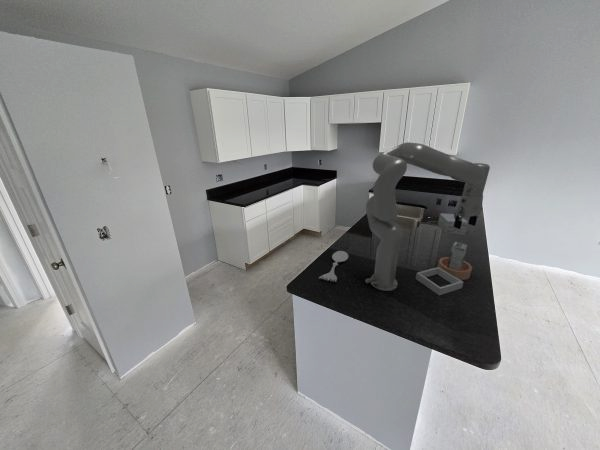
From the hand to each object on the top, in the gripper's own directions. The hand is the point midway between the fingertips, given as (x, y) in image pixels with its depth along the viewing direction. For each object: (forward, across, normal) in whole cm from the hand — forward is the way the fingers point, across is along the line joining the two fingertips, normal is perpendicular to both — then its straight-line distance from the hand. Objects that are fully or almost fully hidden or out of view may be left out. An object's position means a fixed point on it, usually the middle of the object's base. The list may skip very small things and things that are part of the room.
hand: (464, 226), depth 121 cm
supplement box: (+26, +47, +40) cm, 67 cm away
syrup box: (+25, 0, 0) cm, 25 cm away
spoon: (+27, -54, +27) cm, 66 cm away
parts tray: (+26, -15, -5) cm, 30 cm away
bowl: (+26, 0, 0) cm, 26 cm away
